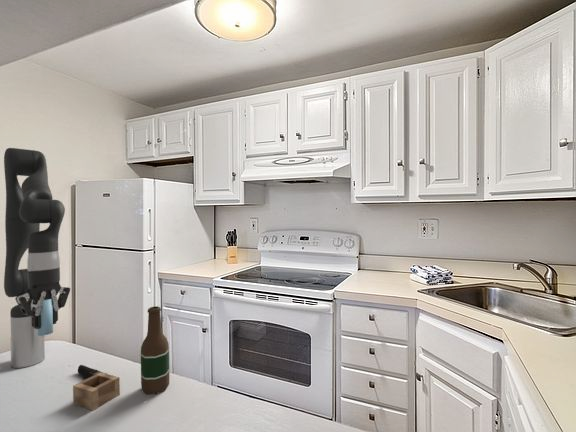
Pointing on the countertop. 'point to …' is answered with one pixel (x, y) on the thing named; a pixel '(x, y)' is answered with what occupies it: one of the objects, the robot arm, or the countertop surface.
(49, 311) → the peg
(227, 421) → the countertop surface
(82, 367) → the electric trimmer
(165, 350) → the beer bottle
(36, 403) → the countertop surface
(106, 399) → the socket block
